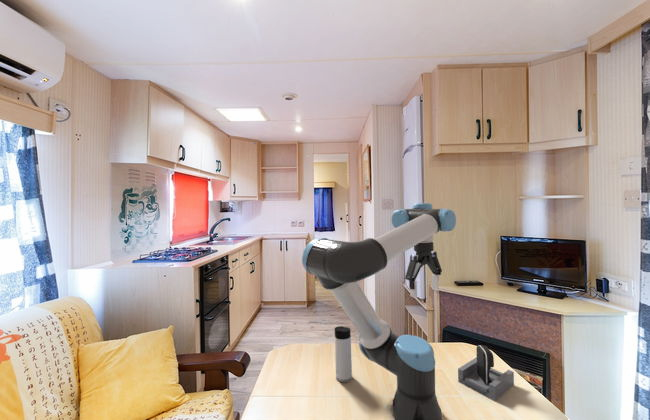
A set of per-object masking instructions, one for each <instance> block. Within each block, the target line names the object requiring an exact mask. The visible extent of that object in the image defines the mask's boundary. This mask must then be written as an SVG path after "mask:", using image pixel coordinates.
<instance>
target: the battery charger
mask: <svg viewBox="0 0 650 420" xmlns="http://www.w3.org/2000/svg"><path fill="white" fill-rule="evenodd" d="M476 357H477V373H478V375H479V376H480V378H481V379H482V381H483V382H484V383H486V384H487V383H491V382H492V380H491V378H490V377H489V370H490V369H491V368H494V367H495V362H494V361H495V357H494V354H493V352H492V351H491V350H490V349H489V348H488V346H486V345H479V344H478V345H477V346H476Z"/></svg>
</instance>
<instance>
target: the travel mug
mask: <svg viewBox="0 0 650 420" xmlns="http://www.w3.org/2000/svg"><path fill="white" fill-rule="evenodd" d="M334 355H335V358H334V359H335V378H336V379H335V380H336V381H338V382H339V381H340V383H343V382H345V383H348V382H350V381H352V379H353V373H352V372H353V371H352V370H353V367H352V338H351V328H350V327H345V326H341V325H340V326H336V327H334Z"/></svg>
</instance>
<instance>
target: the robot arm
mask: <svg viewBox="0 0 650 420" xmlns="http://www.w3.org/2000/svg"><path fill="white" fill-rule="evenodd" d="M390 217H391V224H392V226H393V227H394V229H391V230H389V231H387V232H386V233H384V234H382V235H380V236H377V237H375V238H373V237H368V238H366V239H363V240H361V241H344V240H342V241H341V240H335V239H329V238H327V237H322V238H320V237H319V238H314V239H312V240H311V241H309V242H308V243H307V245H306V246H305V248H304V249H303V253H302V257H301V263H302V265H303V268H304V270H305V271H306V272H308V273H309V274H310V275H313V276H315V278H316V279H317V281H318V282H319V283H320V285H321V286H322V288H323V289H324V290H327V291H330V292H331V293H332V294H333V296H334V298H335V299H336V300H337V302H338V303H339V304H340V306H341V308H342V309H343V311H344V312H345V314H346V315H347V317H348V318H349V320H350V321H351V323H352V324H353V326H354V328H356V330H357V332H358V333H359V334H358V335H359V336H358V341H359V343H358V346H359V350H360V352H361V353H362V354H363V356H364V357H366V358H367V359H368V360H369V361H371V362H372V363H376V364H377V365H379V366H380V367H382V368H384V369H385V370H387V371H388V372H390V373H392V374H393V375H395V376H396V391H395V393H394V397H393V400H392V402H391V403H392V404H391V411H392V412H391V414H392V417H393V419H394V420H443V413H442V409H441V406H440V405H439V400H438V398H437V395H436V359H435V352H434V348H433V347H432V345H431V344H430V343H429V342H428V341H427V340H426V339H424V338H423V337H420V336H417V335H412V334H403V335H397V334H396V333H395V332H394V331H393V330H392V328H391V327H390V325H389V323H388V322H387V321H385V320H383V319H380V317H379V316H378V314H377V312H376V311H375V309H374V307H373V306H372V304H371V302H370V301H369V299H368V298H367V297H368V296H366V294H365V293H364V290H363V288H362V287H361V285H360V284H359V283H358V282H359V281H362V280H365V279H367V278H369V277H372V276H374V275H375V274H377V273H379V272H381V271H382V270H384V269H385V268H387V266H388V263H389V262H390V261H392V260H393V259H395V258H397V257H398V256H400V255H402V254H404V253H405V252H407V251H409V250H410V249H412V248H413V251H414V252H415V255H414V254H410V256H409V263H408V266H407V269H406V273H405V277H404V279H405V280H407V281H408V285H409V295H410V297H411V298H413V299H417V298H418V281H417V280H416V279H417V277H418V276H419V273H420V271H421V269H422V268H423V266H425V265H427V267H428V268H429V270H430V272H431V273H432V274H431V275H430V277H431V281H430V282H431V290H432V291H435V292H438V291H439V276H441V275H442V271H443V270H442V266H441V264H440V261H439V259H438V254H437V251H434V248H435V247H434V242H433V241H434V235H435V234H437V233H439V232H444V233H445V232H452V231H453V230H454V229H455V227H456V225H457V217H456V214H455V211H453V210H452V209H450V208H449V209H448V208H433V204H432V203H430V202H422V203H421V202H419V203H413V205H412V208H401V209H397V210H394V211H393V212H392V214H391V216H390Z"/></svg>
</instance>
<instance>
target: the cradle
mask: <svg viewBox="0 0 650 420" xmlns="http://www.w3.org/2000/svg"><path fill="white" fill-rule="evenodd" d="M457 376H458V377H457V381H458V382H459V383H460V384H461V385H463V386H465V387H467V388H468V389H471V390H473V391H475V392H476V393H478V394H479V395H482V396H483V397H486V398H488V399H489V400H492V401H493V402H496V401H497V400H498V399H500V398H501V397H502V396H503V395H505V394H506V393H507V392H508V391H509V390H511V388H513V387H514V386H515V380H514V379H515V378H514V377H515V373H514V371H513V370H511V369H508V370H506V371H504V372H501V371H498V370H497V369H494V368H493V367H491V369H490V370H489V377H490V378H491V380H492V382H491V383H487V384H486V383H484V382H483V381H482V379H481V378H480V376H479V375H478V373H477V356H476V357H475V358H473V359H472V360H470V361H468V362H466V363H465V364H463V365H461V366H460V367H459V368H457Z"/></svg>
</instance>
